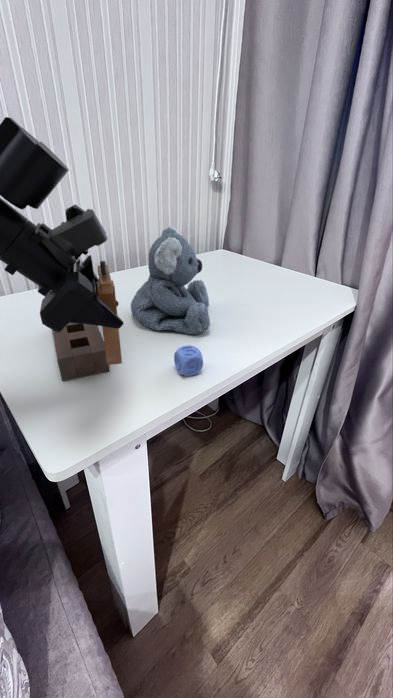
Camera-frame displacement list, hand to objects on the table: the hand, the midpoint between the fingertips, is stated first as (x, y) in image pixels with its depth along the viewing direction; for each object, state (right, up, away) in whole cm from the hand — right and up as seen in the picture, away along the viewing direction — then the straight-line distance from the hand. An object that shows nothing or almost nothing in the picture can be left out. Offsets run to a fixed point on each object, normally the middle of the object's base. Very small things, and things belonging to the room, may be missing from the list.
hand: (118, 315), depth 47 cm
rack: (-12, -5, +17) cm, 21 cm away
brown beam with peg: (-2, -7, +4) cm, 8 cm away
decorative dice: (+10, -9, +12) cm, 18 cm away
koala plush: (+5, +2, +29) cm, 30 cm away
